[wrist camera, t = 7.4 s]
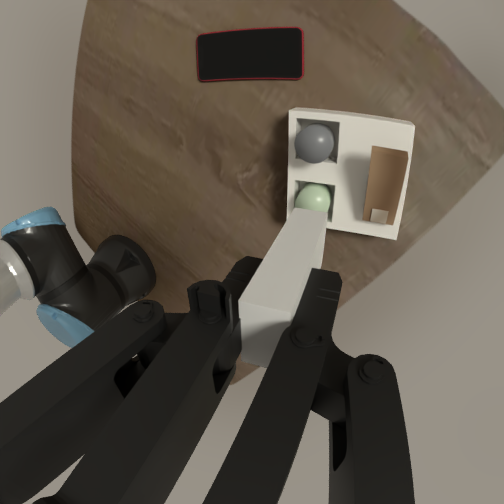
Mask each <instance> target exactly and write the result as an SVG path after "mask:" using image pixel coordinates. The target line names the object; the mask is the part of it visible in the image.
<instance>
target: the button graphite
mask: <svg viewBox="0 0 504 504" xmlns="http://www.w3.org/2000/svg"><path fill="white" fill-rule="evenodd" d="M334 145H335V136H334V133H333V131H332V130H331V129H330V128H329V127H328V126H327V125H325V124H322V123H312V124H310V125H308V126H307V127H305V128H304V129H303V130H302V131H300V132H299V133H298V135H297V136H296V138H295V143H294V146H295V150H296V153H297V154H298V156H299V157H300V158H301V159H302V160H304V161H305V162H308V163H312V164H316V163H321V162H323V161H324V160H326V159H327V158H328V157H329V155H330V153H331V151H332V149H333V147H334Z"/></svg>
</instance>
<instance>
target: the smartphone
mask: <svg viewBox="0 0 504 504" xmlns="http://www.w3.org/2000/svg"><path fill="white" fill-rule="evenodd" d="M196 42H197V66H198V78H199V79H200V80H201V81H217V80H238V79H294V80H298V79H301V78H302V77H303V75H304V33H303V30H302V29H301V28H299V27H268V28H251V29H238V30H228V31H219V32H211V33H203V34H200V35H198V37H197V39H196Z"/></svg>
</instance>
